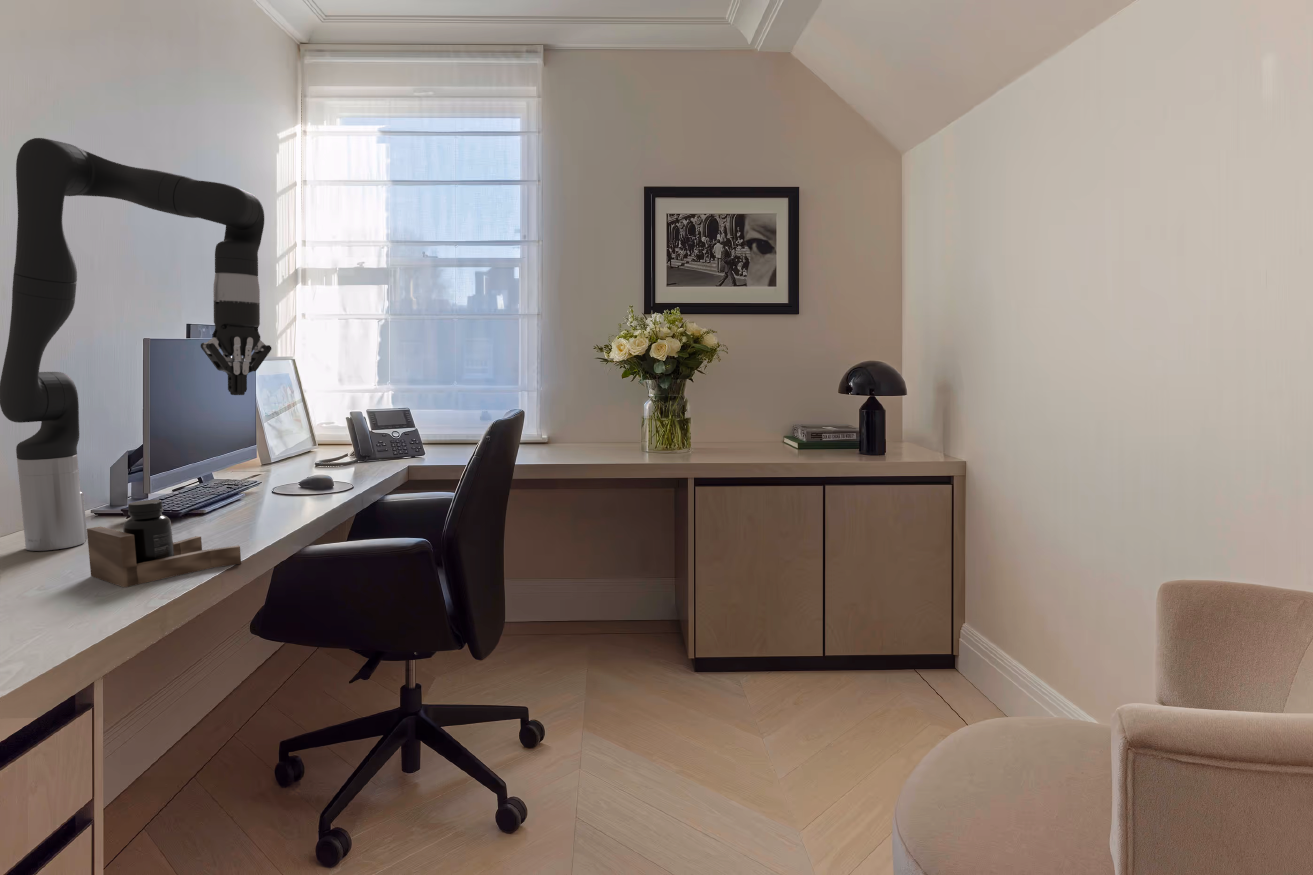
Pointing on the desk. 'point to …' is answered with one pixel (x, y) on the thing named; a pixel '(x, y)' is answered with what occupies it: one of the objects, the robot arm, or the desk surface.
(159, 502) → the supplement bottle
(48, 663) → the desk surface
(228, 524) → the desk surface
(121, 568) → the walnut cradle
